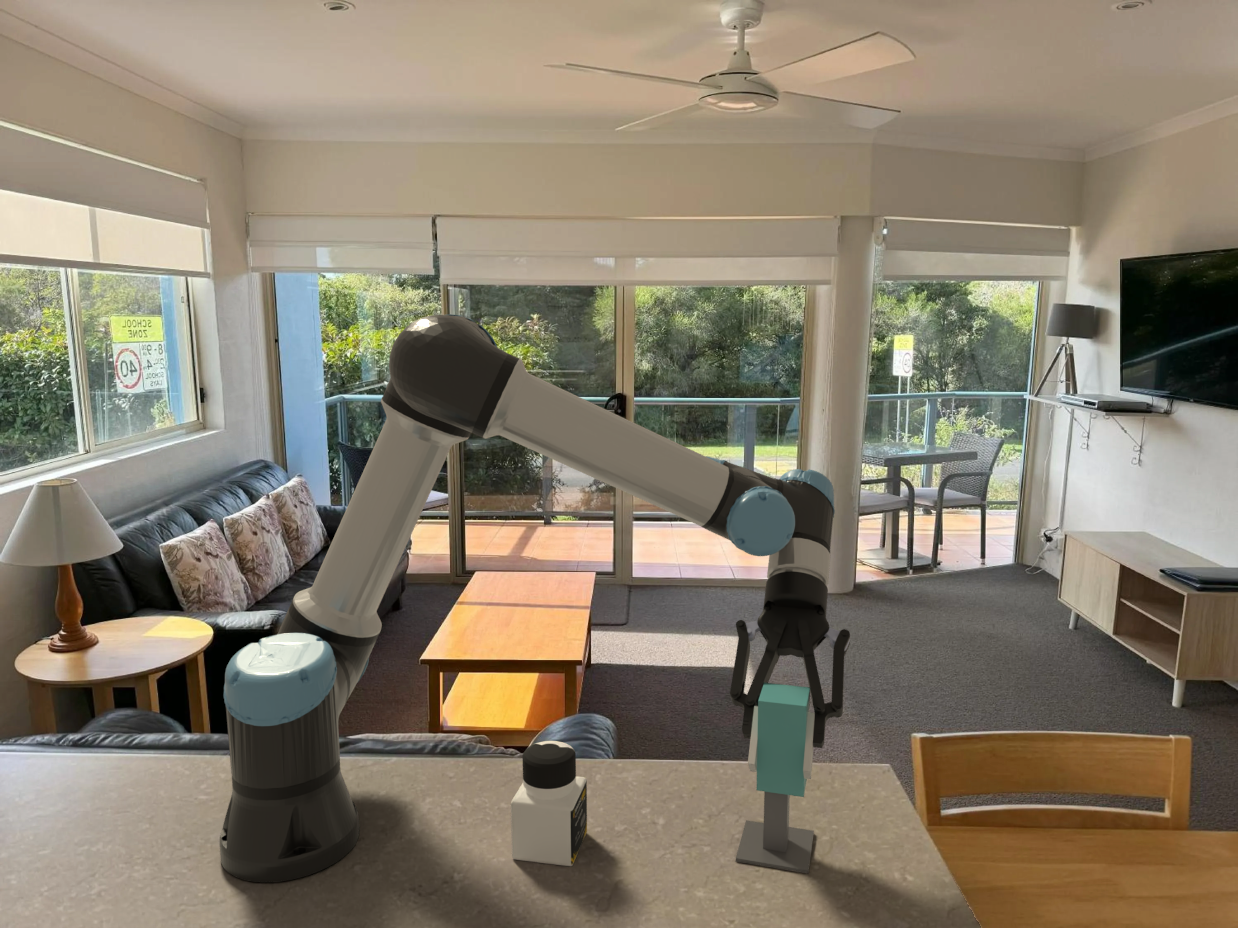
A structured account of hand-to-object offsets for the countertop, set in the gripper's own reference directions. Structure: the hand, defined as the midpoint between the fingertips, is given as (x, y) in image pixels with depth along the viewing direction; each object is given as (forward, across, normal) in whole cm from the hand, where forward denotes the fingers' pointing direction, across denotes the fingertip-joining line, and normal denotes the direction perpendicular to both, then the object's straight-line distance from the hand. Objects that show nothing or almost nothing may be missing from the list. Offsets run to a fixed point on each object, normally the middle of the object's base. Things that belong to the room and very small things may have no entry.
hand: (779, 770), depth 97 cm
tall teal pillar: (0, 0, -5) cm, 5 cm away
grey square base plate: (+5, +1, -10) cm, 12 cm away
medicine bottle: (+11, +26, -6) cm, 28 cm away
